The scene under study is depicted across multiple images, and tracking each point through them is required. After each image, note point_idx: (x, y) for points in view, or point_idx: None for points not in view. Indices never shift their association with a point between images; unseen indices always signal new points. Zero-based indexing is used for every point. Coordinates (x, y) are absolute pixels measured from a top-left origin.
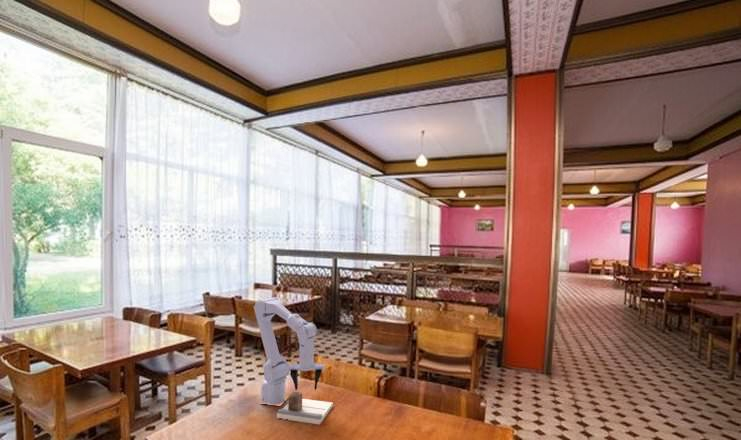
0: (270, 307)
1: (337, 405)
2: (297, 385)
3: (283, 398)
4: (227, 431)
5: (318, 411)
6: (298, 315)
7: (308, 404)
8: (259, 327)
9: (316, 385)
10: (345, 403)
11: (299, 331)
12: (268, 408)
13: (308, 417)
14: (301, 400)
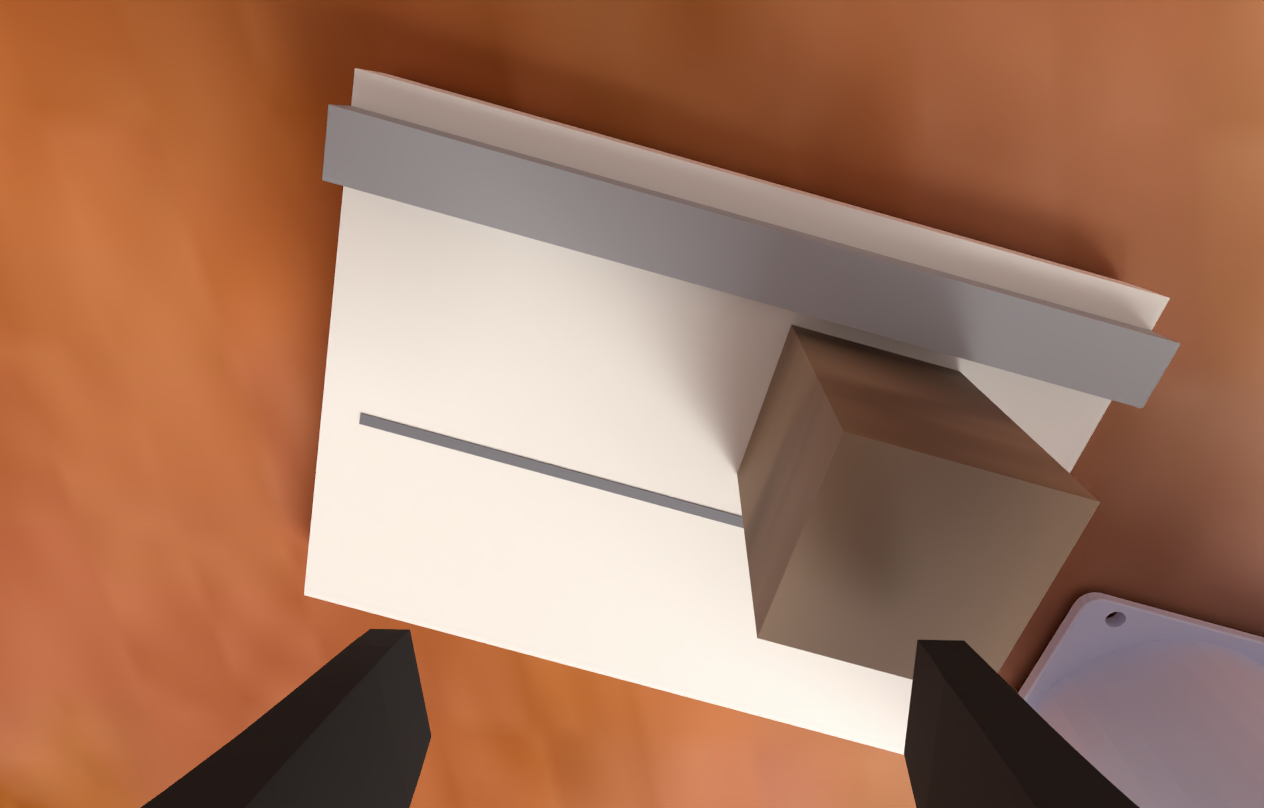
0: None
1: (283, 589)
2: (934, 789)
3: (1067, 736)
4: None
5: (450, 363)
6: None
7: (652, 567)
8: None
9: (283, 701)
10: (197, 626)
11: None
12: (1260, 573)
13: (575, 169)
14: (756, 523)
